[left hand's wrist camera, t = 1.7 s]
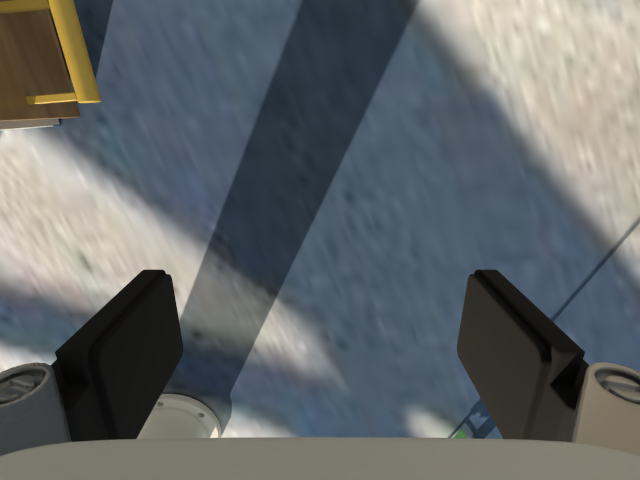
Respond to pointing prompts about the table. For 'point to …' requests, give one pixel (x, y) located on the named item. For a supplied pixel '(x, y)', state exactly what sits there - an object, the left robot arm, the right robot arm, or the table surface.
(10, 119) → the drawer
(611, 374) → the left robot arm
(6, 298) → the table surface
